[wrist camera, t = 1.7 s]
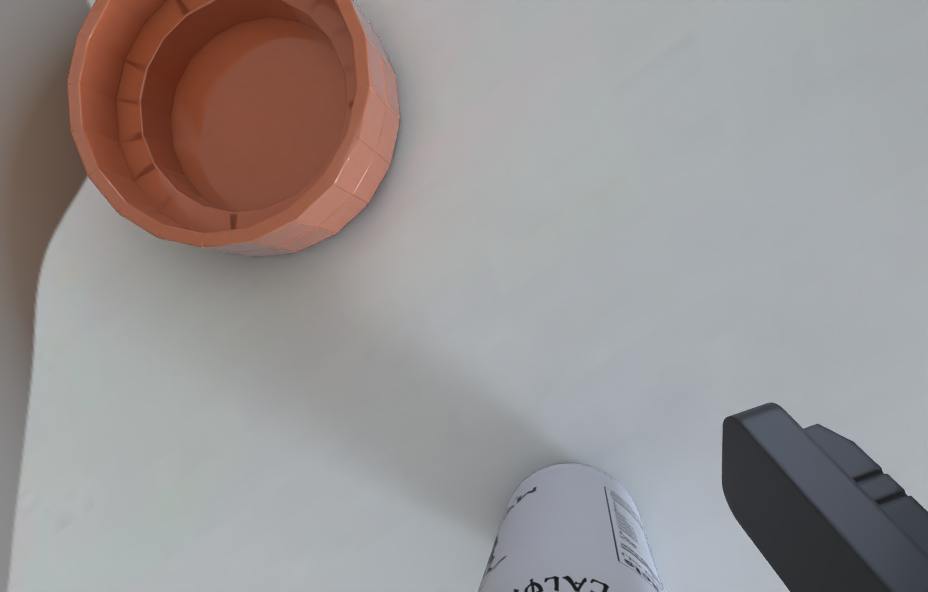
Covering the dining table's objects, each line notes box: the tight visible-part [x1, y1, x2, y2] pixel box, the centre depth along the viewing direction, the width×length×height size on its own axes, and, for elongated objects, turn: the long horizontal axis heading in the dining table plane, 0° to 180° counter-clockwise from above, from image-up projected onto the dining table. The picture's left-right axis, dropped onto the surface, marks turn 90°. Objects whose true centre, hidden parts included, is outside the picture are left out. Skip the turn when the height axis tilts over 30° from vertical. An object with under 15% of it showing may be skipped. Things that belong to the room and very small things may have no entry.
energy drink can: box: [478, 463, 665, 592], centre depth 24 cm, size 6×6×15 cm
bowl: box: [67, 0, 400, 257], centre depth 32 cm, size 13×13×6 cm
